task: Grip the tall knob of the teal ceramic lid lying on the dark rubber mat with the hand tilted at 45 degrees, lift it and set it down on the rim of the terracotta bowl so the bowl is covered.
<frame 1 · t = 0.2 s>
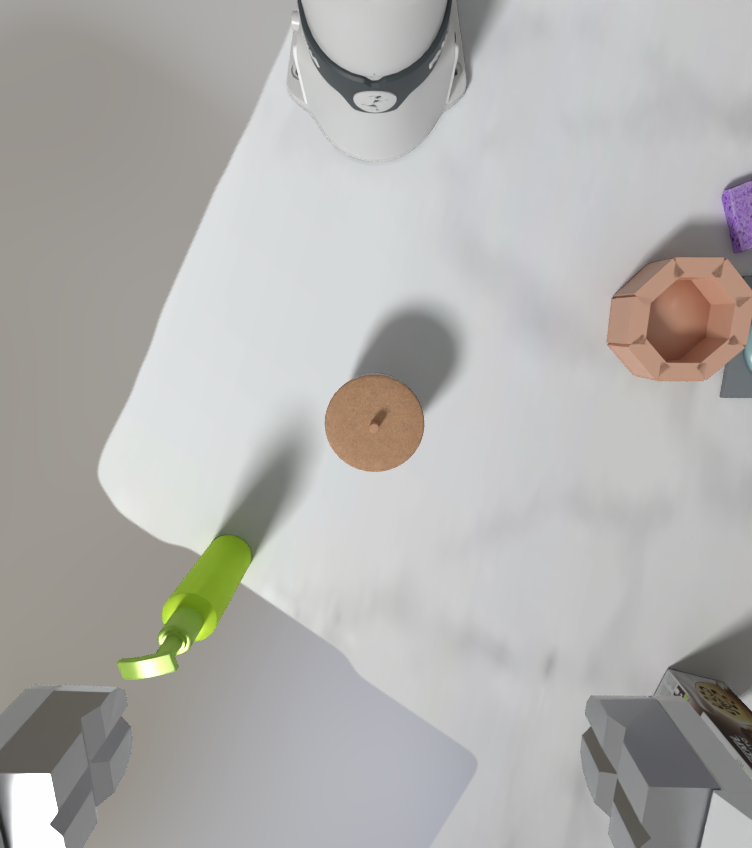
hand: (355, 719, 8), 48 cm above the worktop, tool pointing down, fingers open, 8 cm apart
soap dispenser: (226, 554, 60), on the worktop
lidded jar: (375, 410, 56), on the worktop
bowl: (664, 320, 53), on the worktop
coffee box: (686, 691, 65), on the worktop
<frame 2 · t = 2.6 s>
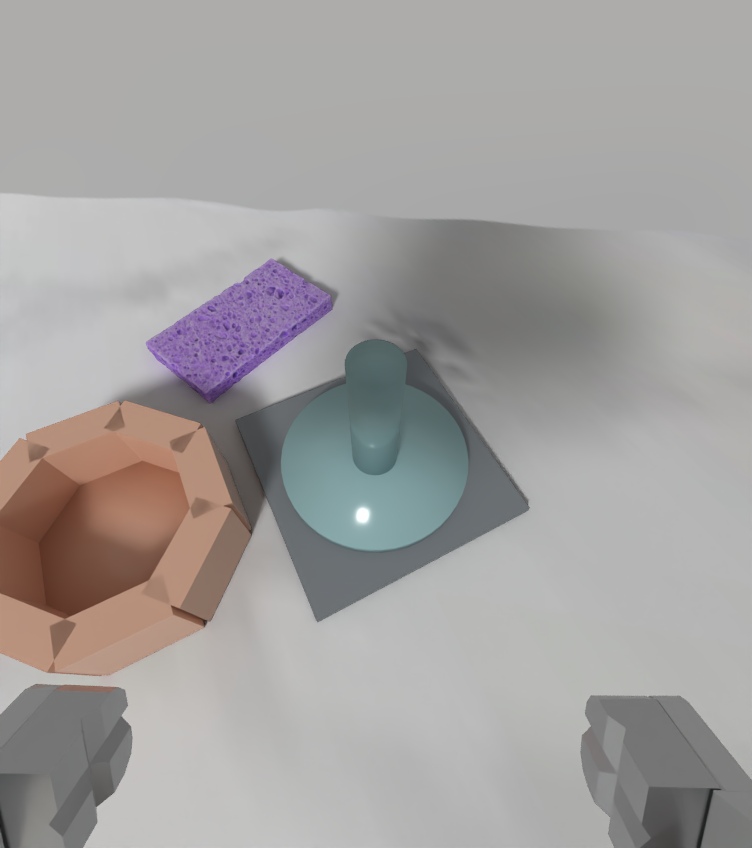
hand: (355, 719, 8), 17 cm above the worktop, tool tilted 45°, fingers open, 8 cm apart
mat: (374, 465, 29), on the worktop
sponges: (247, 336, 36), on the worktop
bowl: (132, 540, 26), on the worktop
lid: (374, 461, 29), resting on mat
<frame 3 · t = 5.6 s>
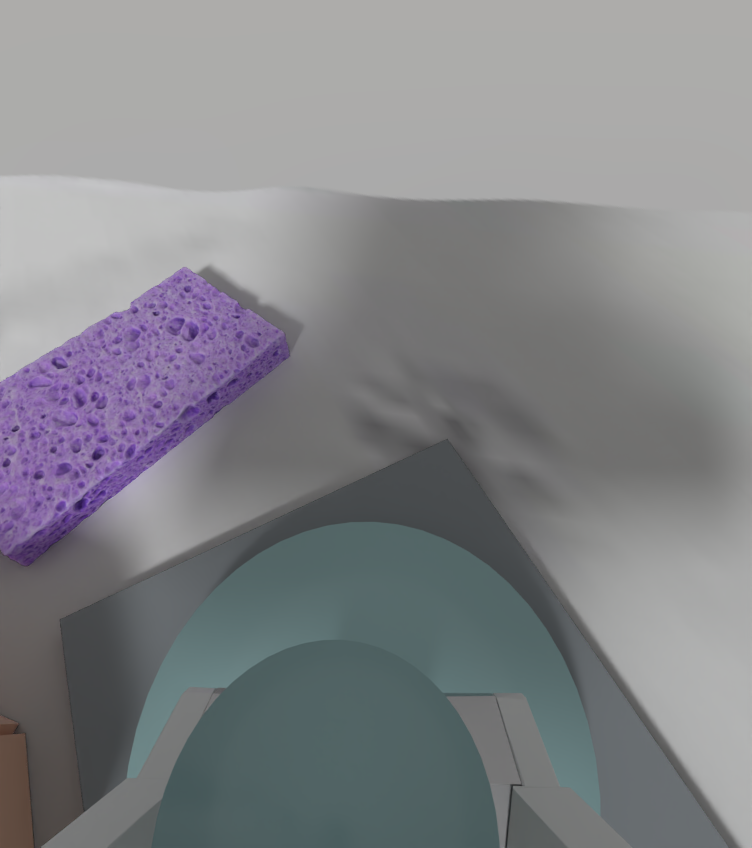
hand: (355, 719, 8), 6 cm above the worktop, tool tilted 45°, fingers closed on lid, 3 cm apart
mat: (364, 739, 13), on the worktop
sponges: (133, 410, 19), on the worktop
lid: (363, 740, 12), resting on mat, touching gripper
when the fingers open (11 cm above the worktop, at t = 9.8 s): lid stays where it is, resting on bowl.
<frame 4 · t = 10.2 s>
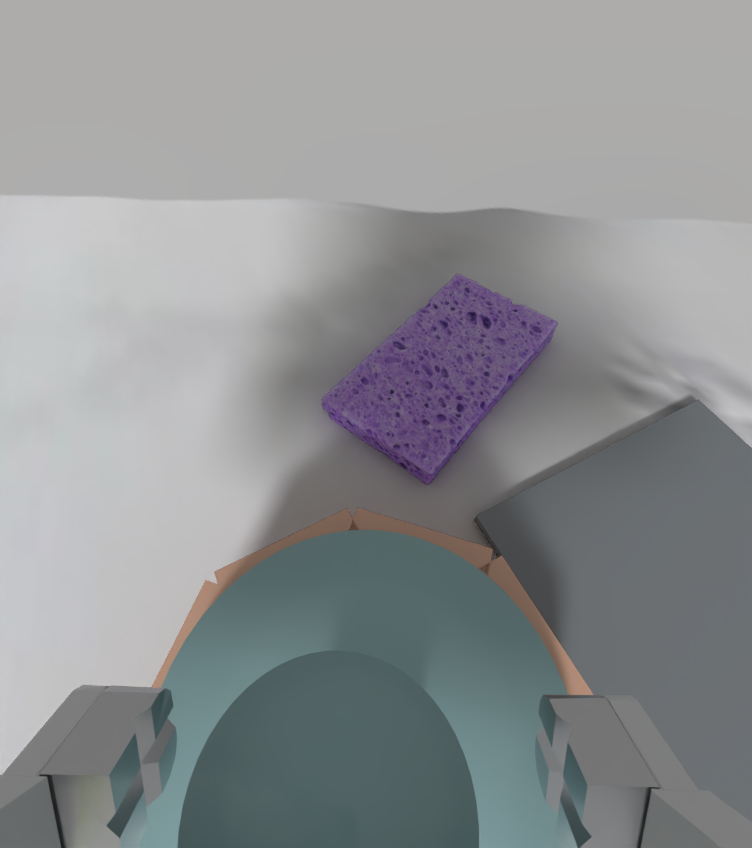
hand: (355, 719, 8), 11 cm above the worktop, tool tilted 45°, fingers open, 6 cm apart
mat: (703, 587, 19), on the worktop
sponges: (441, 381, 26), on the worktop
bowl: (368, 730, 17), on the worktop
lid: (362, 740, 13), point 4 cm above the worktop, touching bowl
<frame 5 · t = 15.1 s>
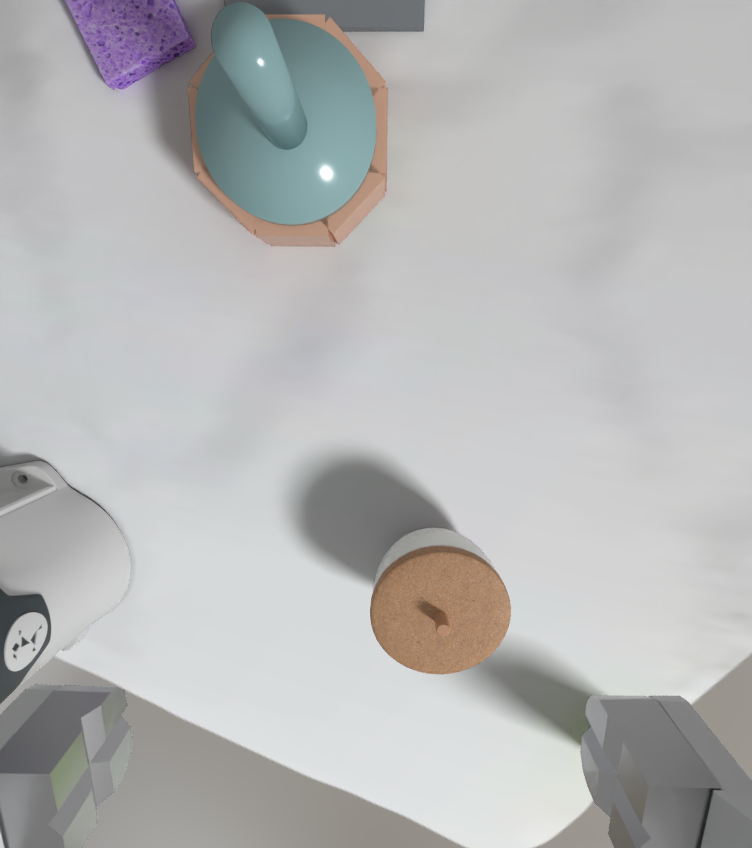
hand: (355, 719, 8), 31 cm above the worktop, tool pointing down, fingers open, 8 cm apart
lidded jar: (429, 561, 42), on the worktop
bowl: (301, 155, 34), on the worktop
lid: (288, 131, 30), point 4 cm above the worktop, touching bowl
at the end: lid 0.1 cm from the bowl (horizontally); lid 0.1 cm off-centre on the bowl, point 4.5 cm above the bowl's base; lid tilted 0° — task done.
